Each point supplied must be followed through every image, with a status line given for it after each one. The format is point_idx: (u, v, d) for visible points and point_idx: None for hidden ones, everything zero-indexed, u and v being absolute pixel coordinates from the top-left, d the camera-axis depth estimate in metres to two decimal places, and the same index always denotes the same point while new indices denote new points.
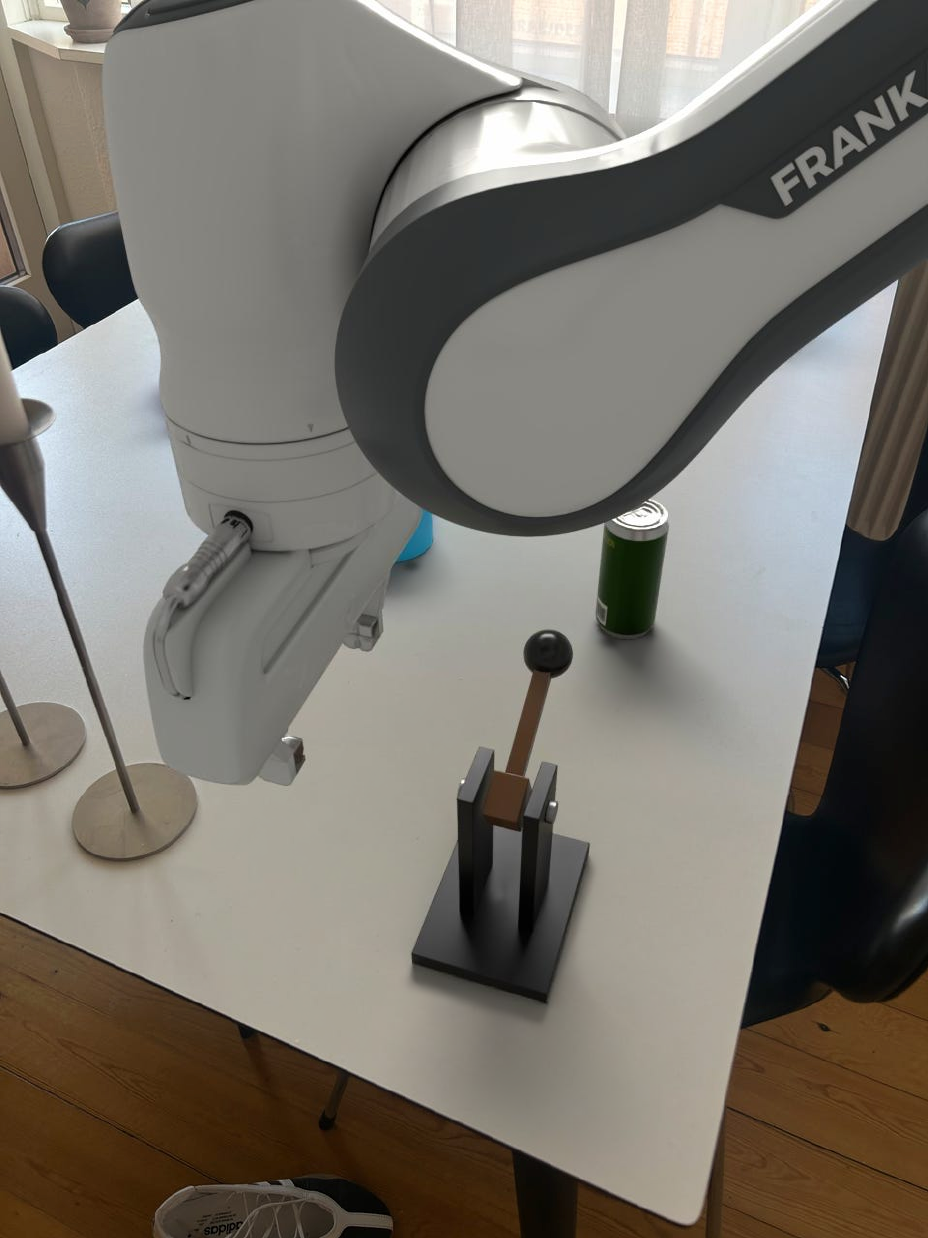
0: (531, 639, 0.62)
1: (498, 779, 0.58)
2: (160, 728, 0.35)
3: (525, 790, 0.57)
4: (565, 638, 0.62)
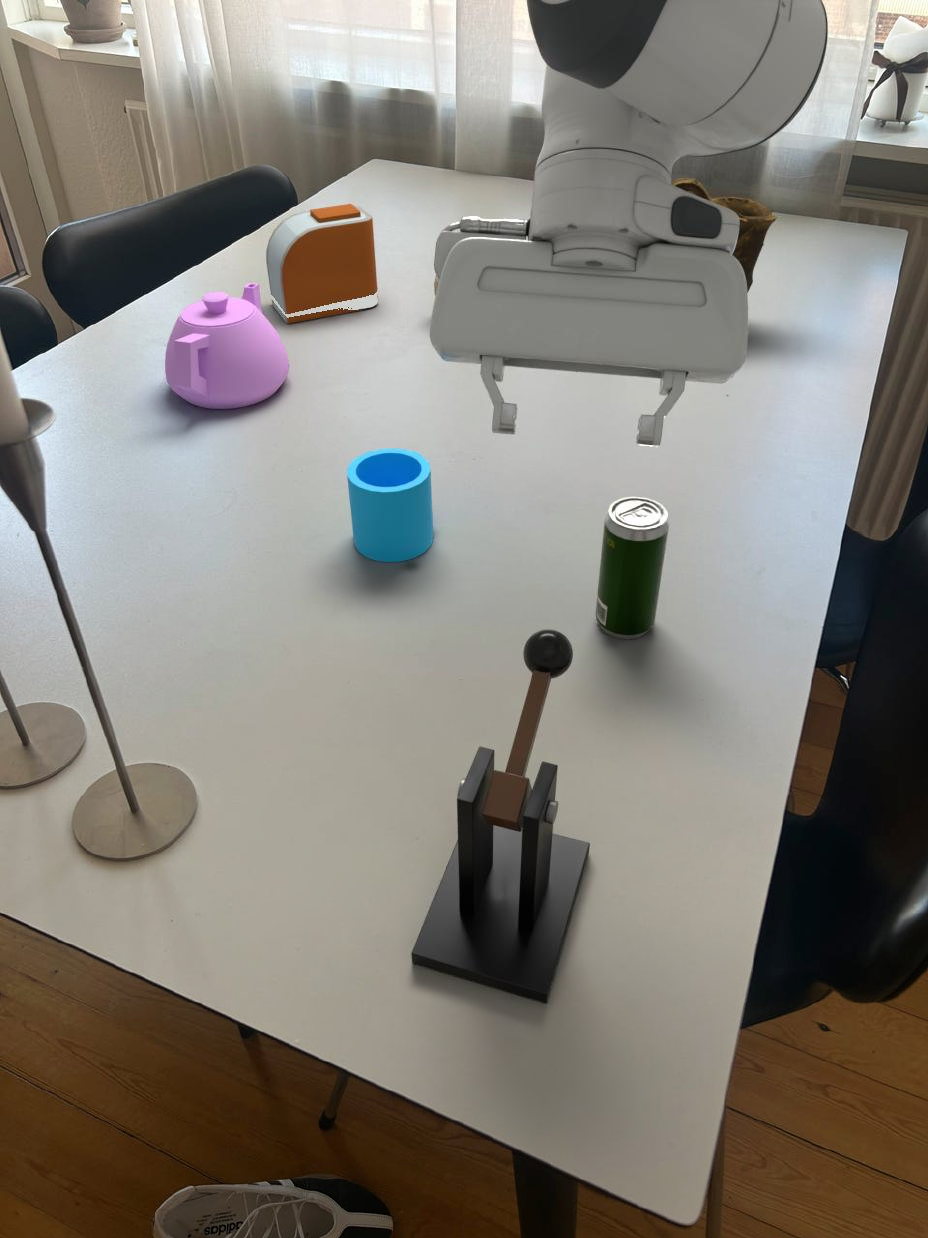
0: (531, 639, 0.62)
1: (498, 779, 0.58)
2: None
3: (525, 790, 0.57)
4: (565, 638, 0.62)
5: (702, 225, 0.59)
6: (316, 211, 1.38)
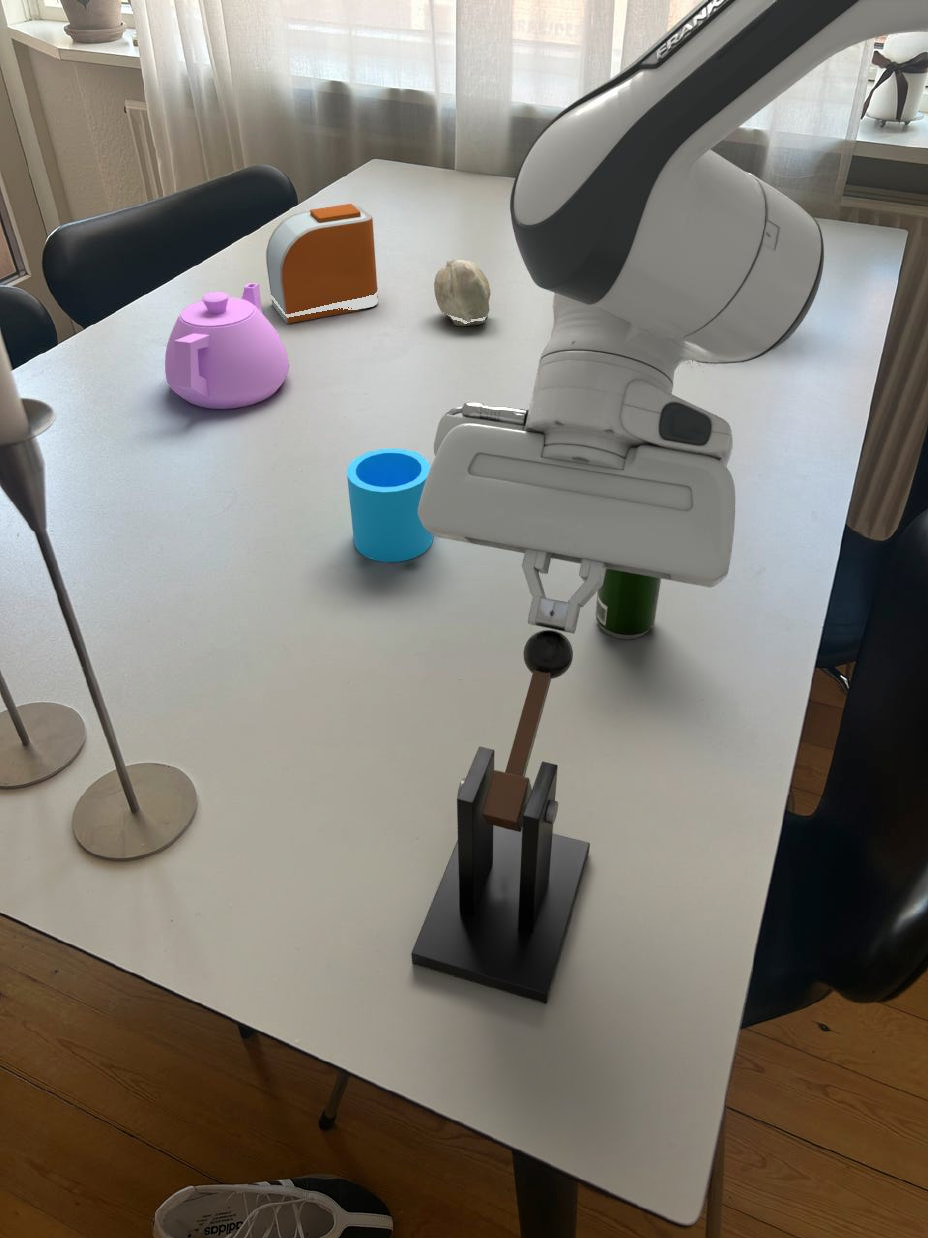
0: (531, 639, 0.62)
1: (498, 779, 0.58)
2: None
3: (525, 790, 0.57)
4: (565, 638, 0.62)
5: (691, 432, 0.58)
6: (316, 211, 1.38)
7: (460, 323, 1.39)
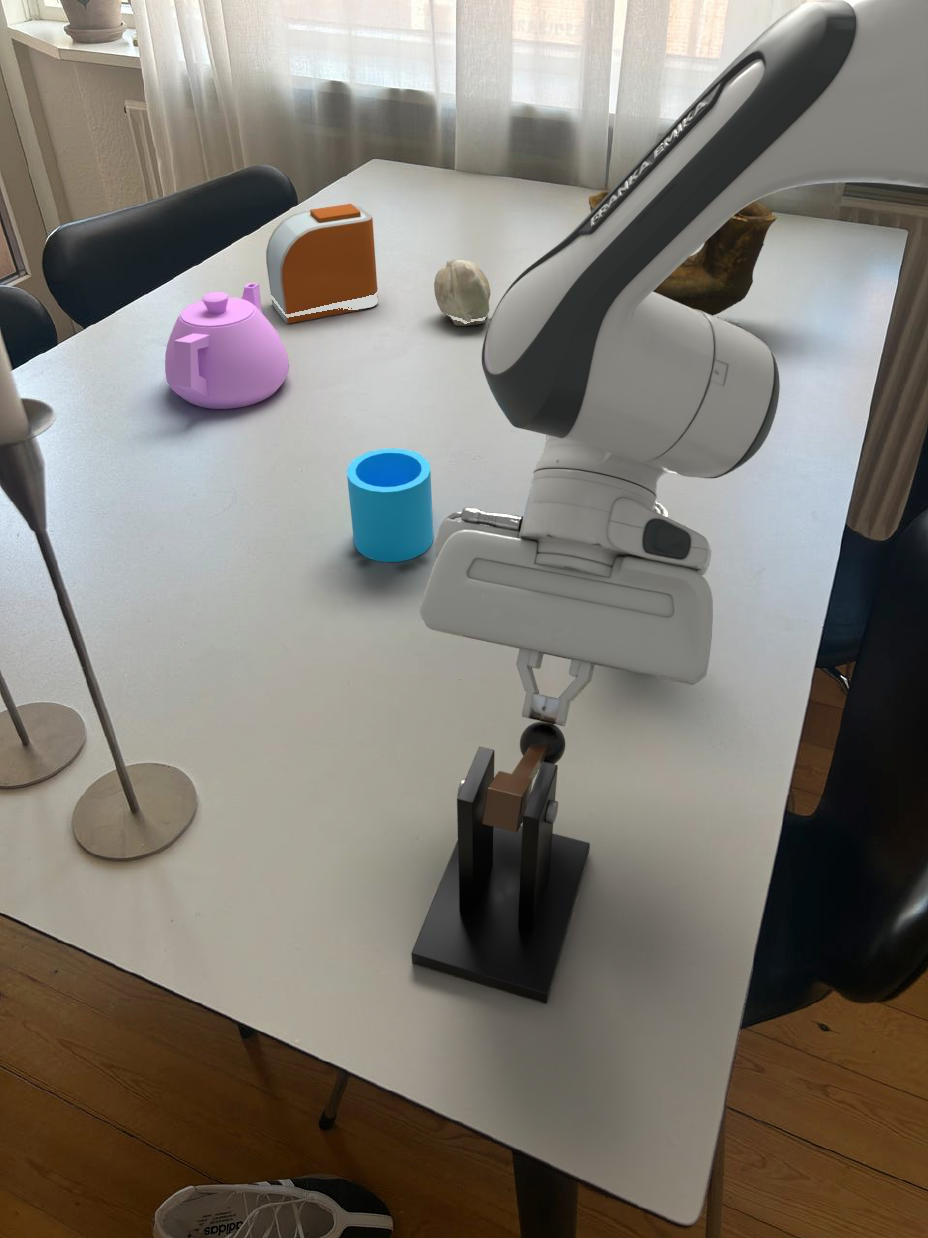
0: (530, 725, 0.68)
1: (503, 775, 0.59)
2: None
3: (529, 784, 0.58)
4: None
5: (672, 546, 0.63)
6: (316, 211, 1.38)
7: (460, 323, 1.39)
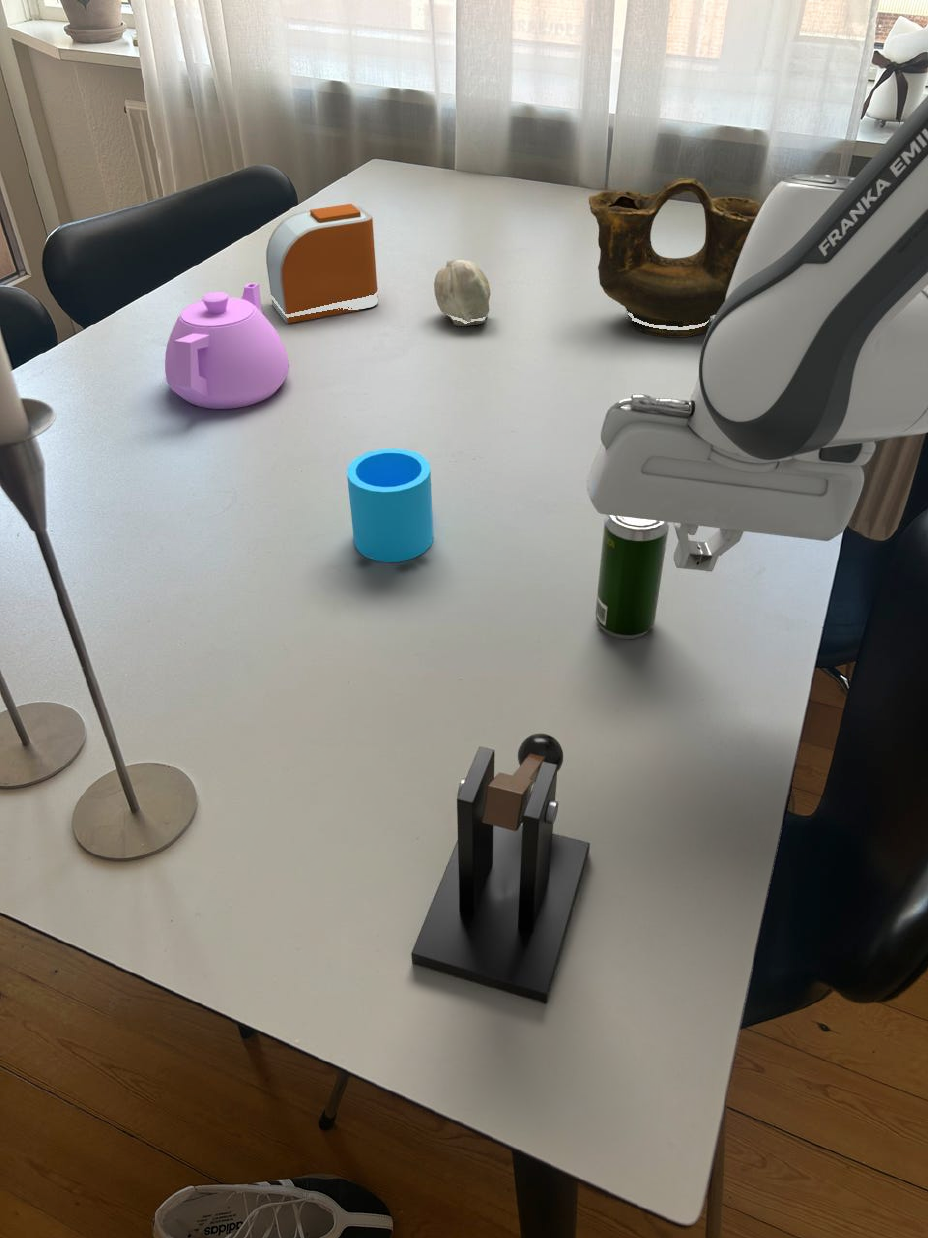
0: (528, 737, 0.68)
1: (503, 775, 0.59)
2: (594, 459, 0.73)
3: (529, 784, 0.59)
4: None
5: (844, 453, 0.68)
6: (316, 211, 1.38)
7: (460, 323, 1.39)
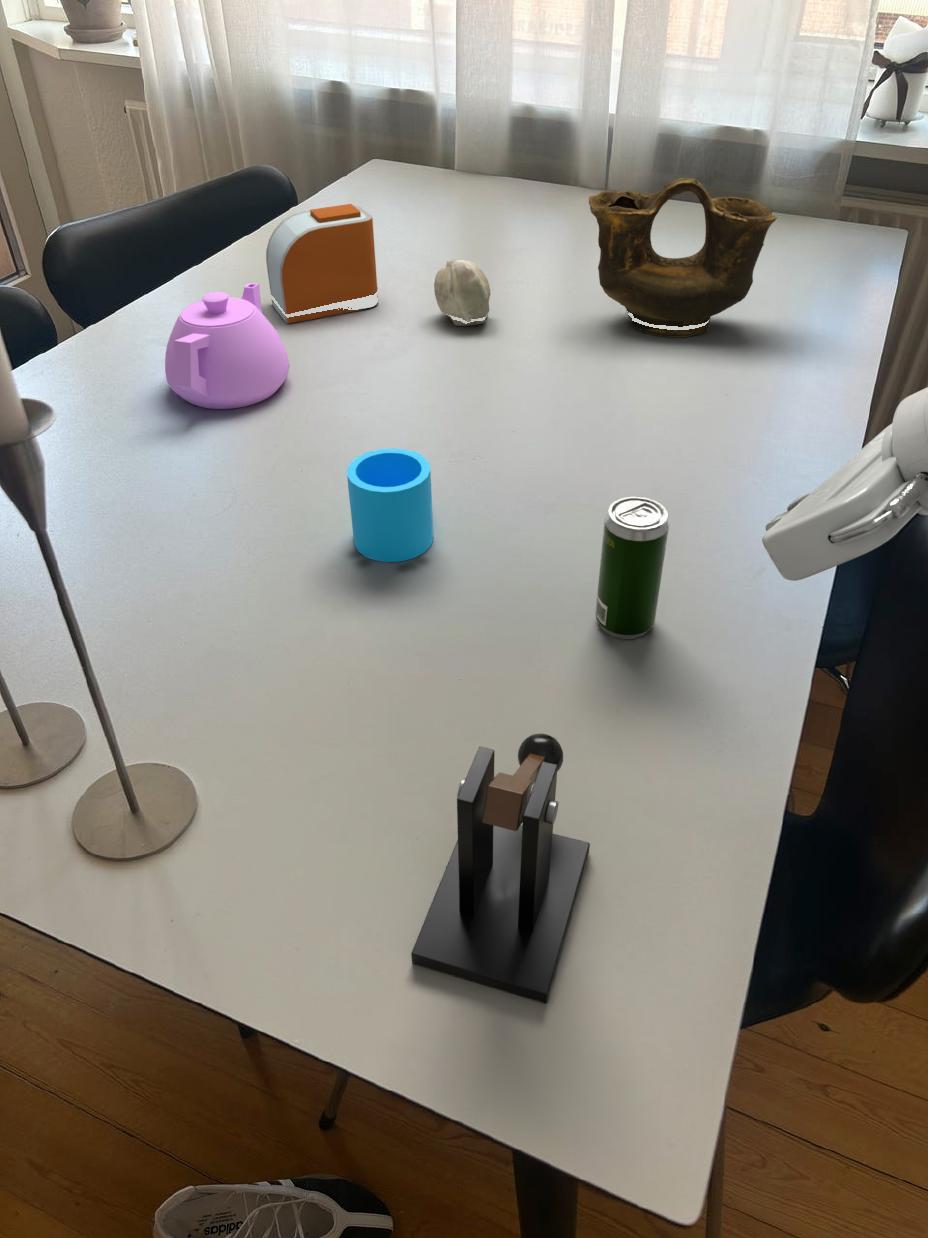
0: (528, 737, 0.68)
1: (503, 775, 0.59)
2: (794, 532, 0.59)
3: (529, 784, 0.59)
4: None
5: None
6: (316, 211, 1.38)
7: (460, 323, 1.39)
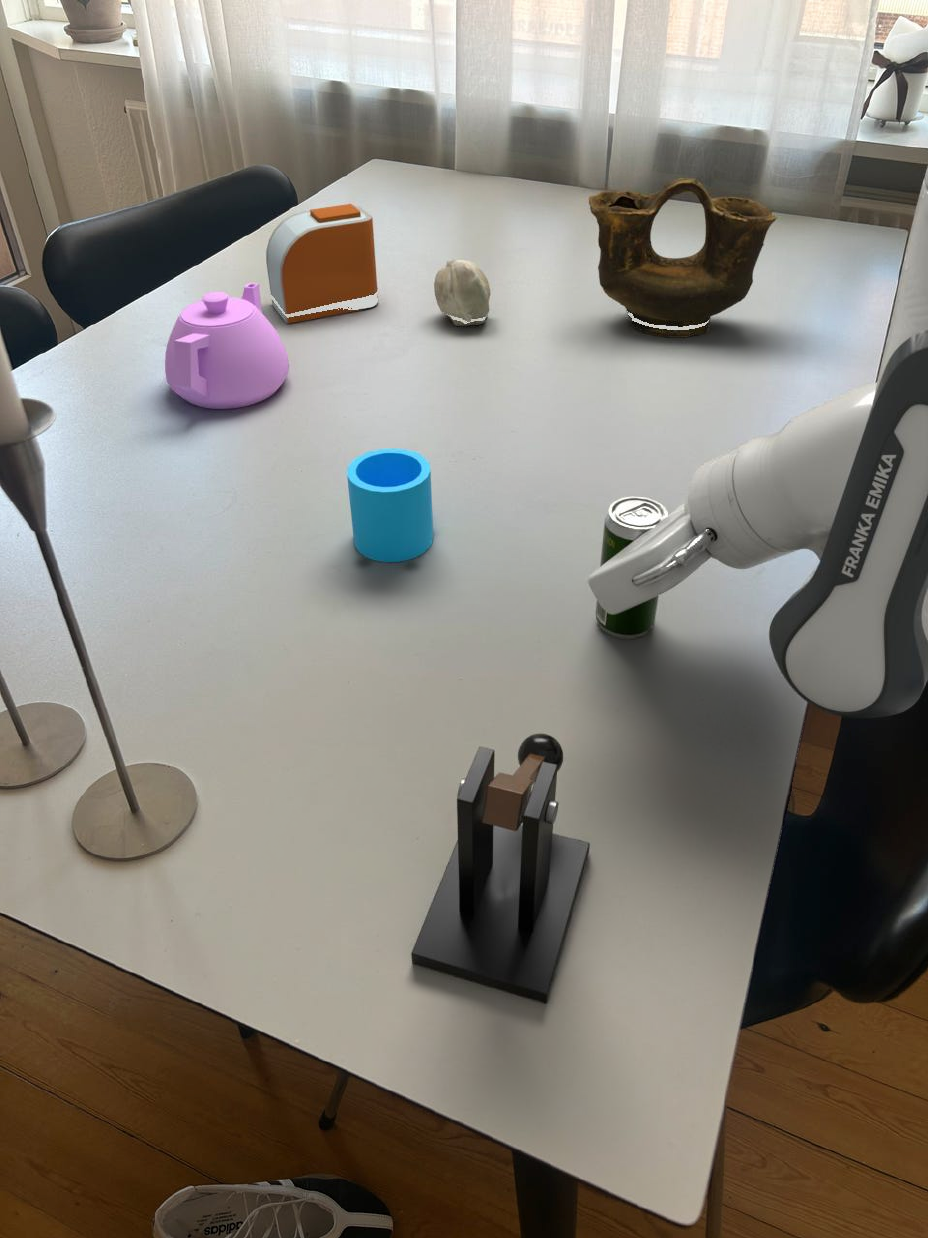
0: (528, 737, 0.68)
1: (503, 775, 0.59)
2: (608, 576, 0.72)
3: (529, 784, 0.59)
4: None
5: None
6: (316, 211, 1.38)
7: (460, 323, 1.39)
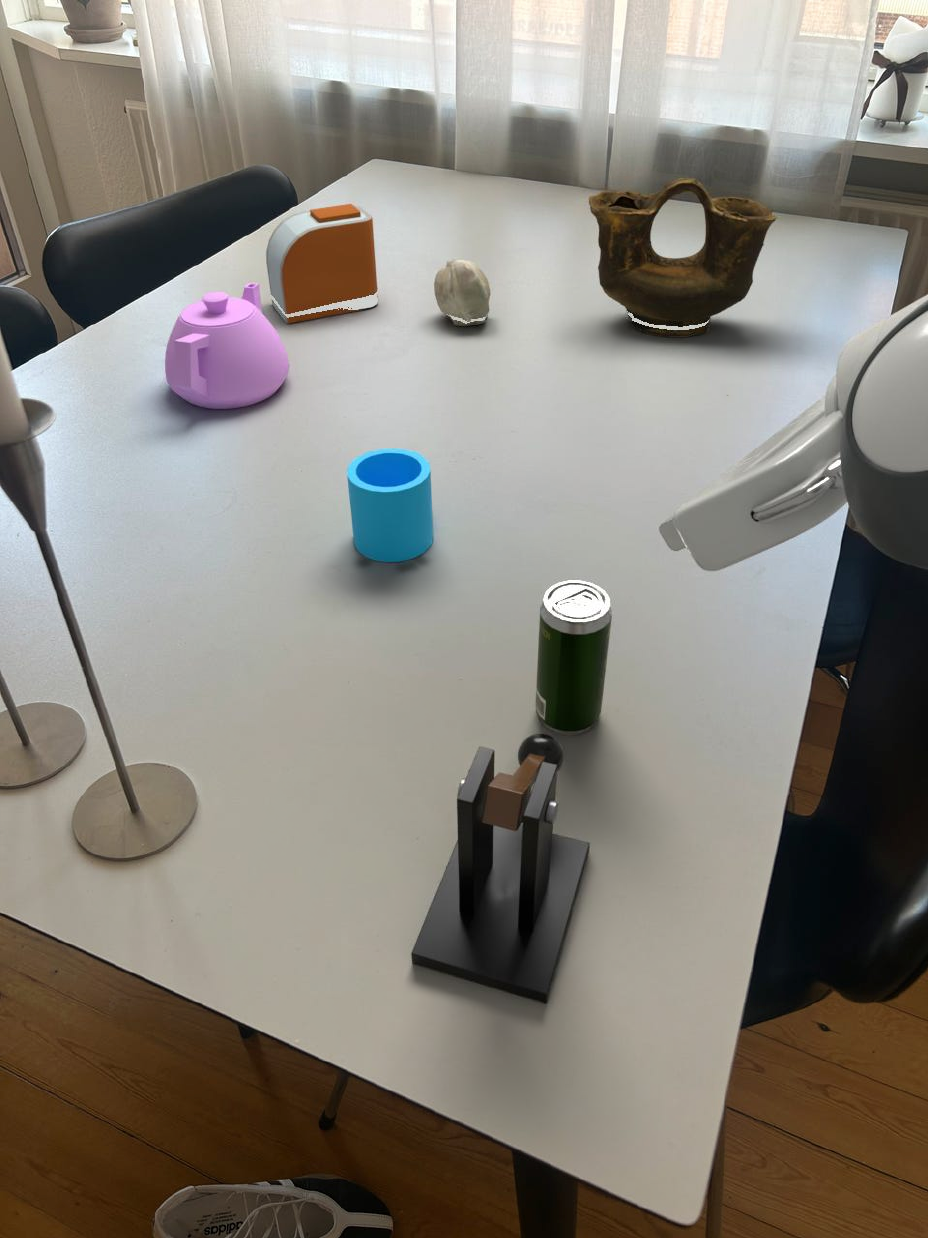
0: (528, 737, 0.68)
1: (503, 775, 0.59)
2: (709, 508, 0.46)
3: (529, 784, 0.59)
4: None
5: None
6: (316, 211, 1.38)
7: (460, 323, 1.39)
